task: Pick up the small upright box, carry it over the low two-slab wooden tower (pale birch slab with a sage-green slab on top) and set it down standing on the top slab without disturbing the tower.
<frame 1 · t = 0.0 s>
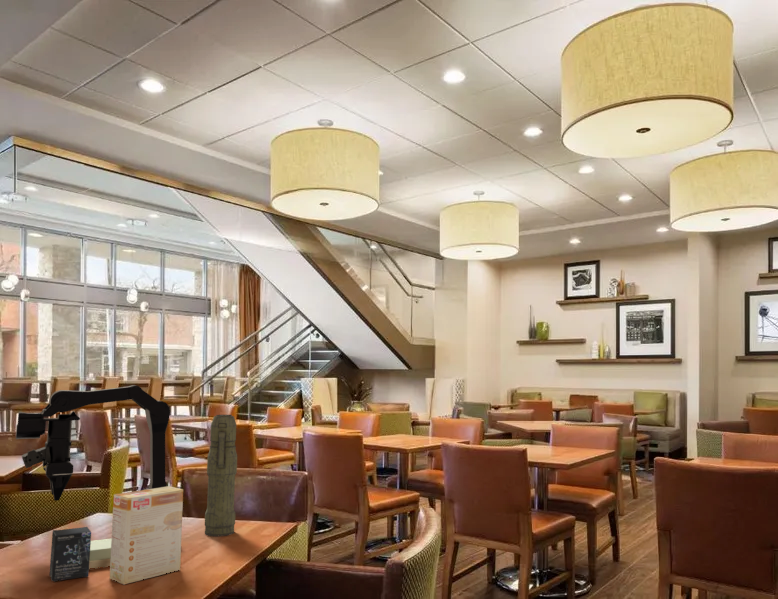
hand: (55, 497, 176), 15 cm above the table, tool pointing down, fingers open, 9 cm apart
coffeecake box: (145, 575, 159), on the table
upper slab: (104, 553, 170), point 2 cm above the table, touching lower slab
box: (68, 577, 157), on the table
lower slab: (104, 564, 170), on the table, touching upper slab
thermos: (219, 533, 199), on the table
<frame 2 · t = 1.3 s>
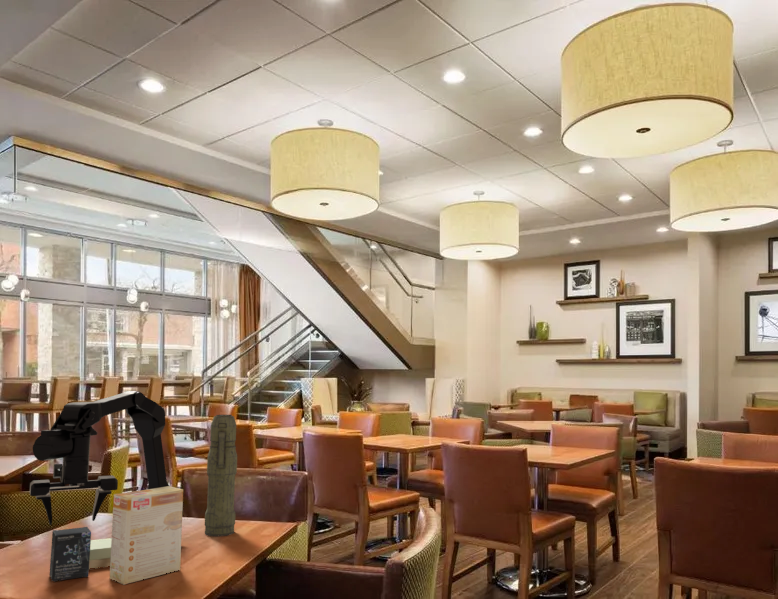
hand: (72, 522, 158), 12 cm above the table, tool pointing down, fingers open, 9 cm apart
nothing on the table moved.
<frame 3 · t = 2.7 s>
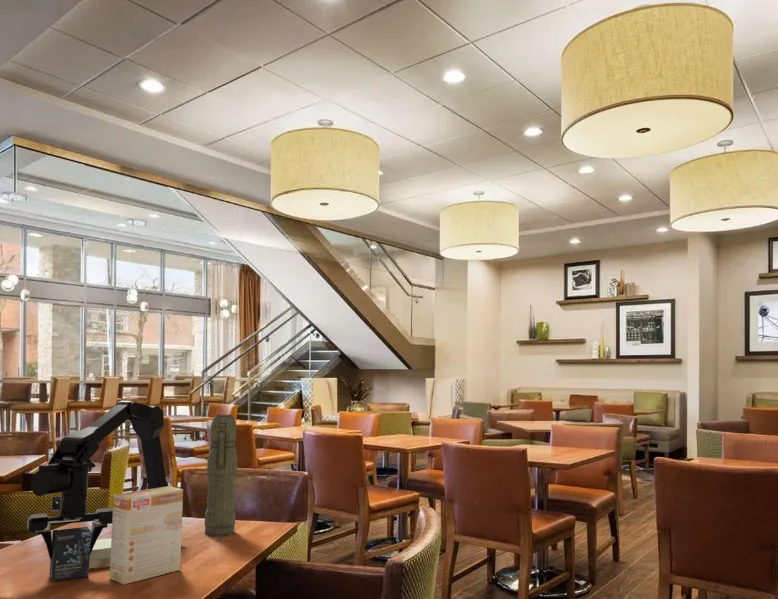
hand: (70, 556, 157), 5 cm above the table, tool pointing down, fingers closed on box, 8 cm apart
box: (68, 577, 157), on the table, touching gripper
everything else where it was.
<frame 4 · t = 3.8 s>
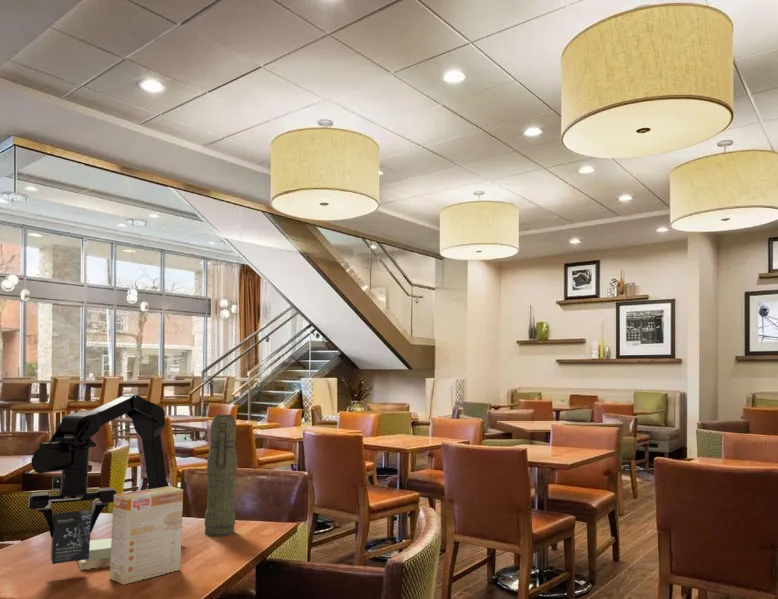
hand: (71, 535, 157), 9 cm above the table, tool pointing down, fingers closed on box, 8 cm apart
box: (69, 560, 157), point 4 cm above the table, touching gripper
everything else where it was.
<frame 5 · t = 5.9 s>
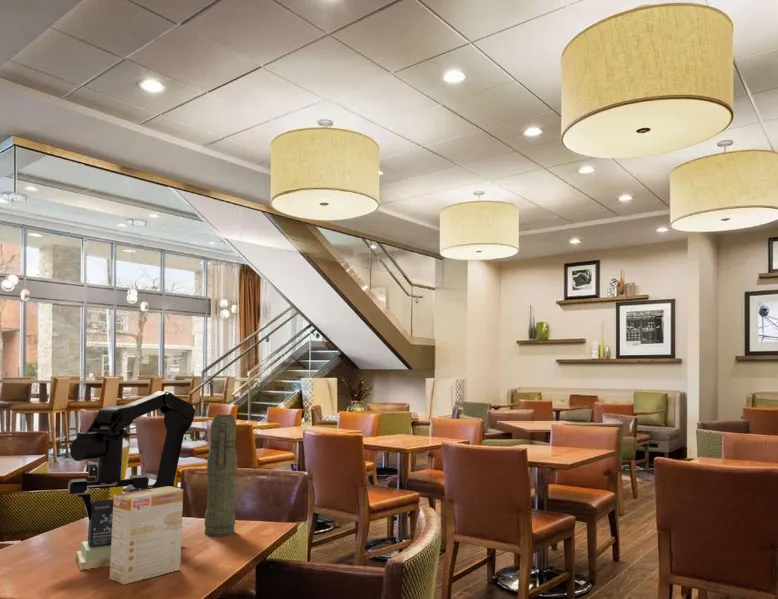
hand: (106, 518, 171), 10 cm above the table, tool pointing down, fingers closed on box, 8 cm apart
box: (105, 544, 170), point 4 cm above the table, touching gripper
everything else where it was.
when the fingers open (10 cm above the table, at t = 6.5 s): box stays where it is, resting on upper slab.
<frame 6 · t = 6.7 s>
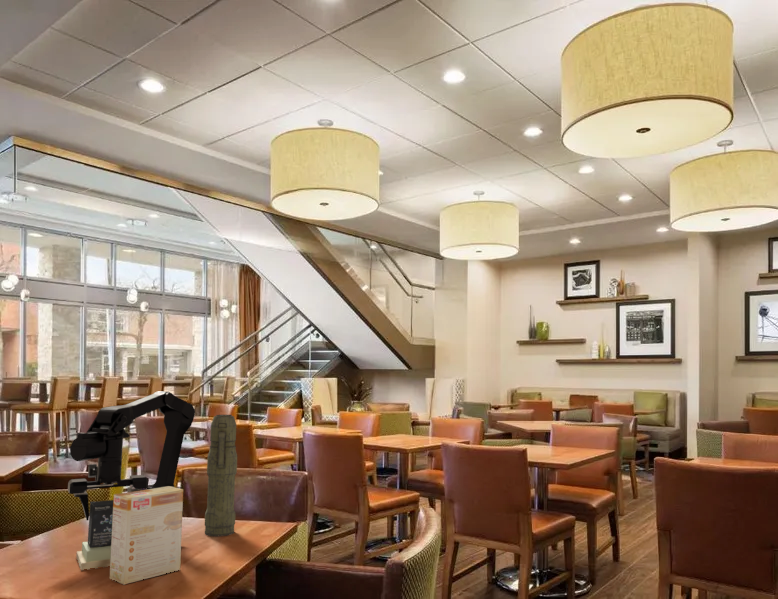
hand: (106, 518, 171), 10 cm above the table, tool pointing down, fingers open, 9 cm apart
upper slab: (105, 554, 170), point 2 cm above the table, touching box, lower slab
box: (105, 545, 170), point 4 cm above the table, touching upper slab
everything else where it was.
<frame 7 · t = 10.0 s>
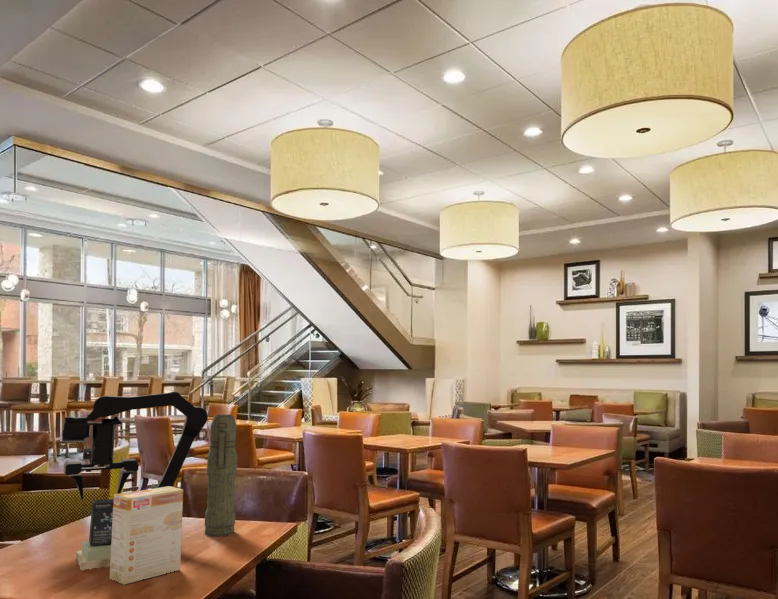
hand: (99, 498, 184), 13 cm above the table, tool pointing down, fingers open, 9 cm apart
nothing on the table moved.
at the end: box inside the target area on the upper slab (1.0 cm from its centre), point 2.4 cm above the upper slab's base; box tilted 2°; upper slab moved 1.0 cm from its start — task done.
